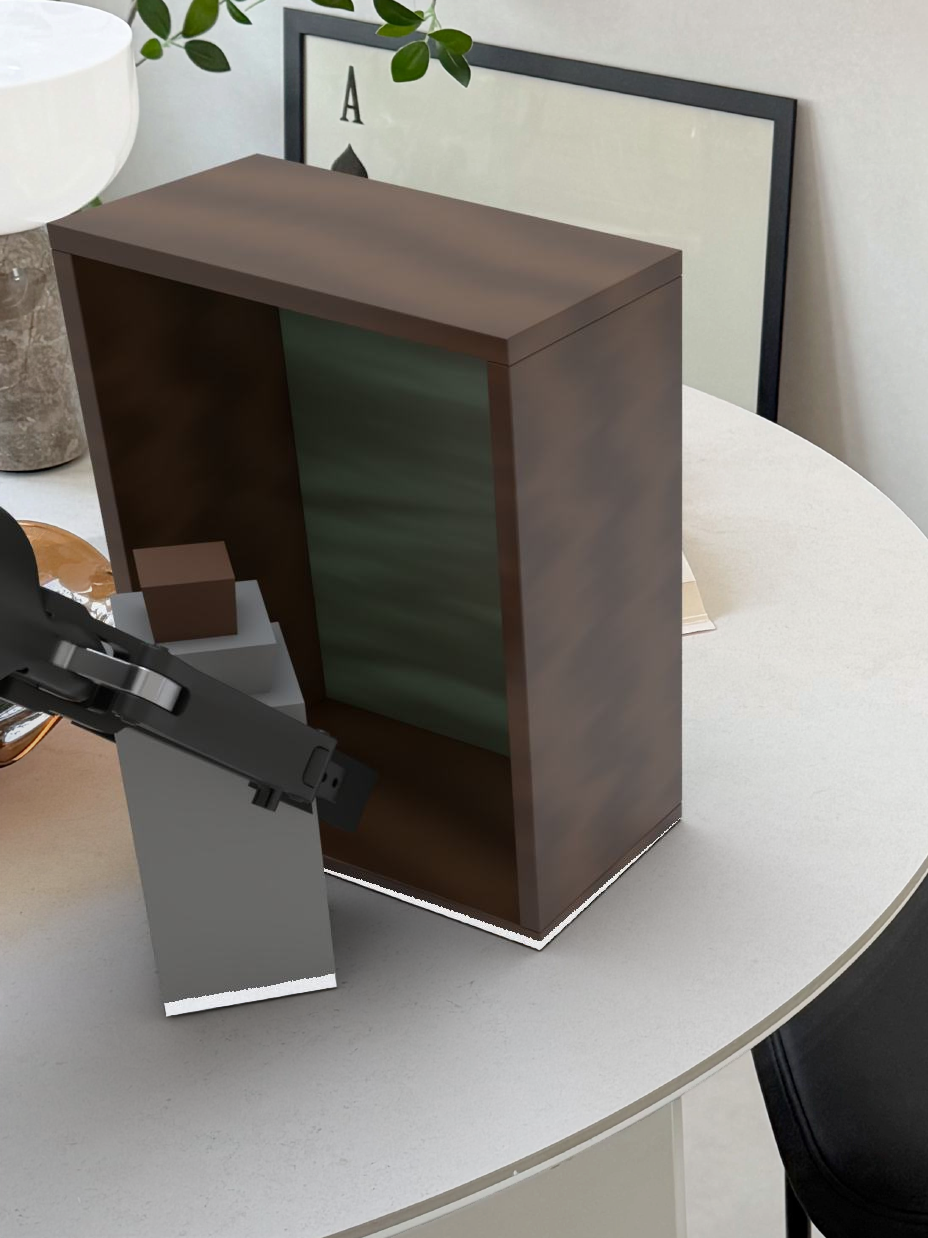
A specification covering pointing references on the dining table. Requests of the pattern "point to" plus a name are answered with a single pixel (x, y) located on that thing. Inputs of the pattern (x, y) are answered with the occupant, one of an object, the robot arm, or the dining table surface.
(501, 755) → the cabinet
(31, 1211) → the dining table surface
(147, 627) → the perfume bottle
